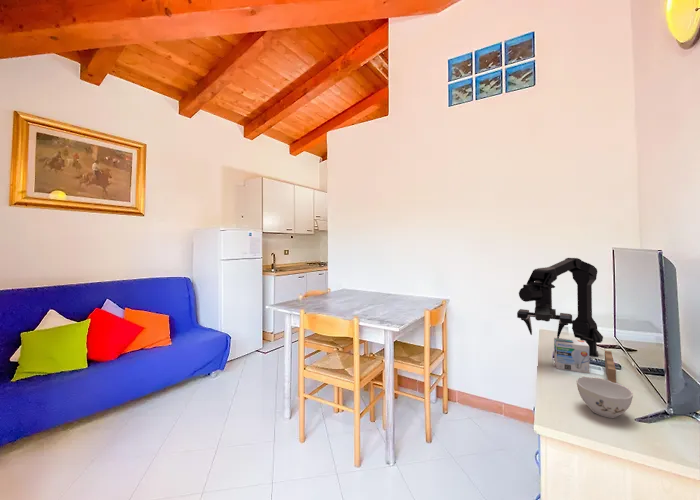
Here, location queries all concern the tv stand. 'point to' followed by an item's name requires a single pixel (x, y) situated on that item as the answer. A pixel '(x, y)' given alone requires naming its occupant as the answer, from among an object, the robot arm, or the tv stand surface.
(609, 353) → the walnut plank
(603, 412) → the white floral bowl
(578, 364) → the light bulb box
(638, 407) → the tv stand surface
